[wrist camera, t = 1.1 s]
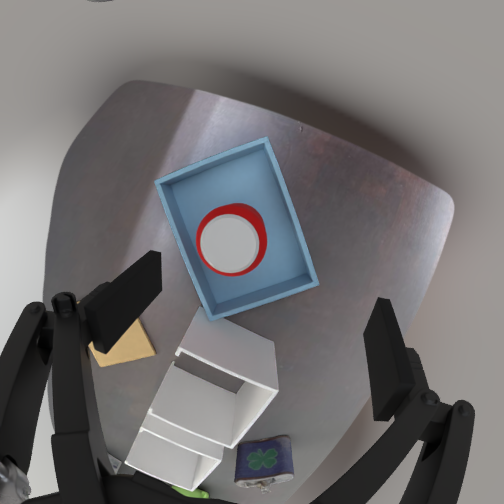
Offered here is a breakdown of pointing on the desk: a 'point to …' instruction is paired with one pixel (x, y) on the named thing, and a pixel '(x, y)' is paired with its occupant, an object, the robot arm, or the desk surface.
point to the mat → (127, 347)
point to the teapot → (195, 493)
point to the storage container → (205, 403)
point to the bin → (251, 193)
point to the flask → (264, 463)
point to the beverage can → (232, 239)
